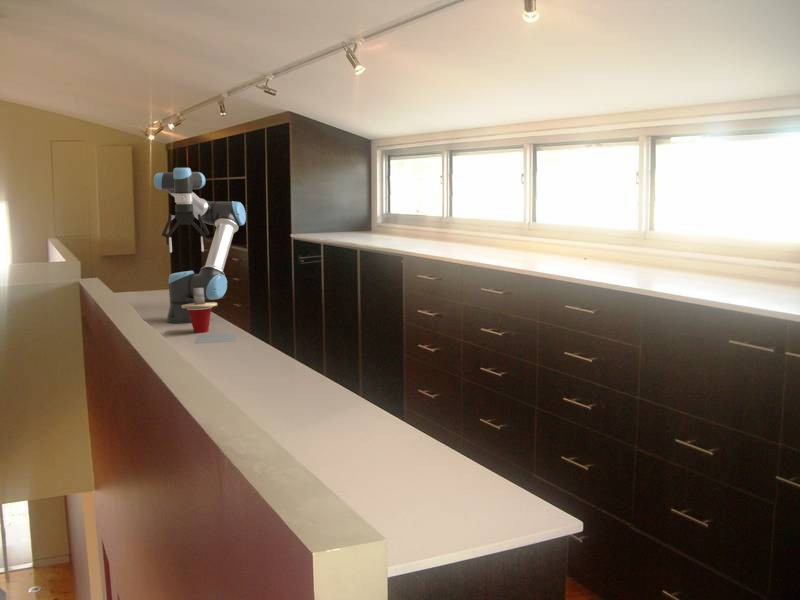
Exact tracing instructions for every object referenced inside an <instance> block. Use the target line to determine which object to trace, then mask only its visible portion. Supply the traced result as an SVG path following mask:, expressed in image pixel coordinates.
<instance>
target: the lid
mask: <svg viewBox="0 0 800 600" xmlns="http://www.w3.org/2000/svg"><path fill="white" fill-rule="evenodd" d="M193 292H194V303H192V304H185V305H182V308H205V307H212V308H213V307H218V302H206V299H204V288H193Z"/></svg>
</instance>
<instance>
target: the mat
mask: <svg viewBox="0 0 800 600" xmlns="http://www.w3.org/2000/svg"><path fill="white" fill-rule="evenodd" d="M236 338H237V333H236V332H229V333H228V332H227V333H226V332H225V333H207V334H197V336H196V339H195V341H194V344H209V343H223V342H224V343H226V342H236V340H237V339H236Z"/></svg>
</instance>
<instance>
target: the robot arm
mask: <svg viewBox="0 0 800 600" xmlns="http://www.w3.org/2000/svg"><path fill="white" fill-rule="evenodd" d="M153 184H154V187H155V189H156V190H161V191H162V190H163V191H164V190H165V191H166V192H167V193H169V194H170V196H172V197H173V198H174V203H176V204H174V206H175V207H174V208H175V209H174V210H175V215H173V214H169V215H168V218H167V222H166V224H165V226H164V228H163V231H162V234H161V237H164V238H166V245H167V246H169V253H172V252H173V245H172V237H170V236H171V235H172V234H173V232H175V230H176V229H177V227H178V226H179V225H181V226H183V225H185V226H186V225H191V226H193V227H194V229H195V230H196V231H197V232H198V233H199V234H200V235H201V236H200V243H201V244H200V245H201V246H200V247H201V252H203V253H204V252H205V251H204V250H205V249H204V248H205V247H204V244H206V243H207V239H206V237H207V236H209V235H210V231H209V230H208V228H207V226H206V224H208V225H211V226H215V227H216V228H215V232H214V236H213V238H212V242H211V245H210V248H209V252H208V255H207V258H206V262H205V265H204V266H203V267H201V268H200V271H199V273H195V272H194V270H188V271H187V270H186V271H179V272H174V273H171V274H169V276H168V292H169V293H168V294H169V308H168V312H167V315H166V321H167V323H169V324H170V323H173V324H186V323H192V322H191V318H190V314H189V311H188V309H187V308H182V305H185V304H192V303H194V292H193V288H204V300H212V301H213V300H219V299H222V298H223V297H224V296H225V294H226V292H227V289H228V280H227V277H226V274H225V272H224V269H225V267H226V266H225V265H226V263H227V262H226V261H227V258H228V255H229V251H230V248H231V244H232V240H233V237H234V234H235V233H236V232H238V231H239V227H240V226H244V225H245V223H246V219H247V217H246V216H247V214H246V210H245V207H244V205H243V204H242V203H241V202H240V201H233V200H232V201H209V200H206V199H205V198H200V197H199V196H198V195H197V194H196V193H195V192H193V190H199V189H202V188H203V187H204V186H205V185H206V177H205V175H204V174H203V173H202V172H199V171H192V170H191V168H190V167H175V168H173V171H172V172H164V171H163V172H157V173H156V174H154V177H153ZM174 219H175V220H176V222H175V224H174V225H173V226H172V228H171V229H170V230H169V231H168V229H169V228H170V225H171V223H172V221H173V220H174ZM194 219H196V220H198V221H199V223H200V225H201V228H202V229H203V230H204V231H203V230H202V229H201V228H200V227H199V226H198V224H196V223H195V221H194ZM167 232H168V233H167Z"/></svg>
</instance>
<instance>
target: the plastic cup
mask: <svg viewBox="0 0 800 600" xmlns="http://www.w3.org/2000/svg"><path fill="white" fill-rule="evenodd" d="M212 308H213V307H205V308H187V309H188V311H189V314H190V318H191V322H190V323H191V326H192V329H193V332H194V333H196V334H203V333H208V332H209V329H210V328H209V327H210V321H211V313H212Z"/></svg>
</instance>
